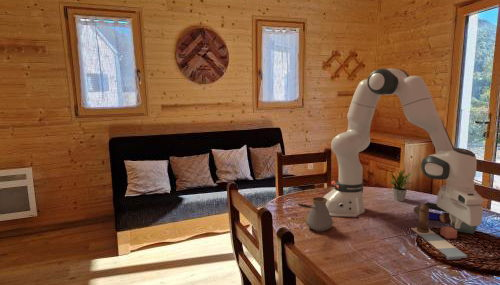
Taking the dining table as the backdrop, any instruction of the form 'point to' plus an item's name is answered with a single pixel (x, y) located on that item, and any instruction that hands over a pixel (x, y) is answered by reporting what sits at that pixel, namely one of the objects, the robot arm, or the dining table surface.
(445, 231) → the salmon red cube
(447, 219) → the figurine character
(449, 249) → the track
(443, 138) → the robot arm
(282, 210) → the dining table surface
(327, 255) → the dining table surface
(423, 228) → the pawn
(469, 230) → the flower pot
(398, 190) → the house plant
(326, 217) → the coffee pot
